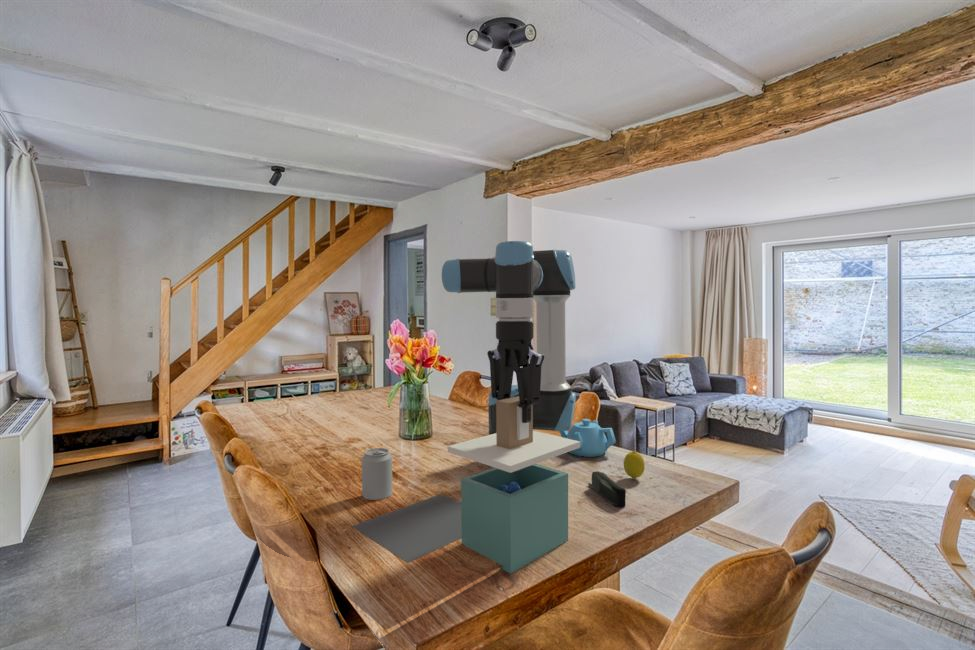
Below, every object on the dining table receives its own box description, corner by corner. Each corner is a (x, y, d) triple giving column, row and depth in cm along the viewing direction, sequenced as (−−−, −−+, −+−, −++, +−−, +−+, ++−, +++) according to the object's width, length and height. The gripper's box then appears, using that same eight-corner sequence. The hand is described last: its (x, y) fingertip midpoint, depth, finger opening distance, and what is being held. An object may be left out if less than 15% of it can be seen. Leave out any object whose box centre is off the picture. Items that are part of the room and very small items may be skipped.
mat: (351, 529, 104) (351, 526, 104) (441, 497, 122) (441, 493, 122) (407, 566, 89) (407, 562, 89) (500, 523, 107) (500, 519, 107)
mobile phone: (628, 488, 115) (595, 466, 129) (617, 489, 114) (585, 467, 128) (627, 508, 115) (595, 484, 130) (616, 509, 114) (585, 485, 129)
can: (366, 505, 117) (365, 457, 116) (359, 495, 124) (358, 449, 123) (396, 499, 120) (395, 452, 120) (387, 489, 127) (387, 444, 126)
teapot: (573, 461, 149) (573, 426, 149) (555, 447, 164) (555, 416, 164) (618, 457, 153) (618, 423, 153) (596, 444, 168) (596, 413, 167)
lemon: (645, 483, 130) (645, 454, 130) (624, 482, 131) (624, 453, 131) (643, 476, 135) (643, 448, 135) (622, 475, 137) (623, 447, 136)
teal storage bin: (461, 547, 96) (461, 478, 96) (519, 520, 108) (519, 458, 108) (510, 573, 87) (510, 497, 86) (568, 540, 99) (568, 473, 98)
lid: (447, 452, 95) (447, 401, 95) (518, 432, 110) (518, 388, 110) (510, 472, 83) (510, 414, 83) (580, 447, 98) (580, 397, 98)
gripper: (472, 319, 99) (473, 432, 100) (534, 321, 87) (534, 448, 88) (497, 318, 104) (498, 425, 105) (559, 320, 92) (559, 440, 93)
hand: (515, 435), depth 97 cm, fingers closed on lid, 3 cm apart
